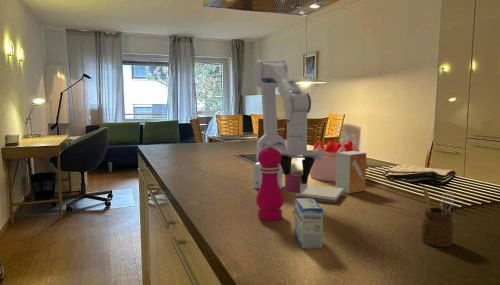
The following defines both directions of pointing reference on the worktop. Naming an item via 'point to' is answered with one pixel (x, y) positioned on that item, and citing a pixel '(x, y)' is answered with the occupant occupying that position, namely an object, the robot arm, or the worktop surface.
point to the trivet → (321, 193)
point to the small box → (351, 171)
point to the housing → (295, 182)
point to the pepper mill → (269, 185)
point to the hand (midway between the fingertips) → (296, 182)
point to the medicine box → (308, 223)
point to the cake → (329, 159)
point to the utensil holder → (437, 224)
